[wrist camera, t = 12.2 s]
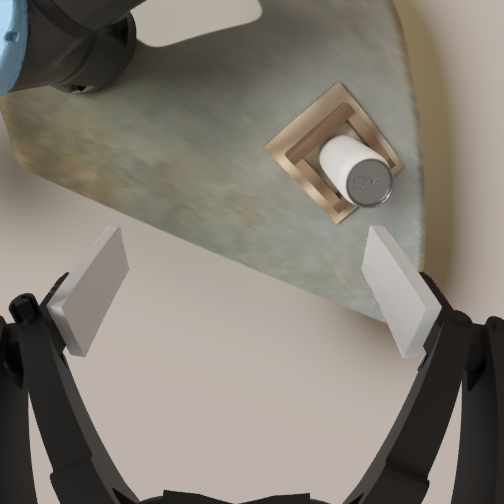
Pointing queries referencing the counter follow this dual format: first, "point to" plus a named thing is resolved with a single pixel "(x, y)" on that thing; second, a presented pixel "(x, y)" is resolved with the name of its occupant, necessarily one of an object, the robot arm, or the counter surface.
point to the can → (357, 171)
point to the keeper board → (313, 138)
